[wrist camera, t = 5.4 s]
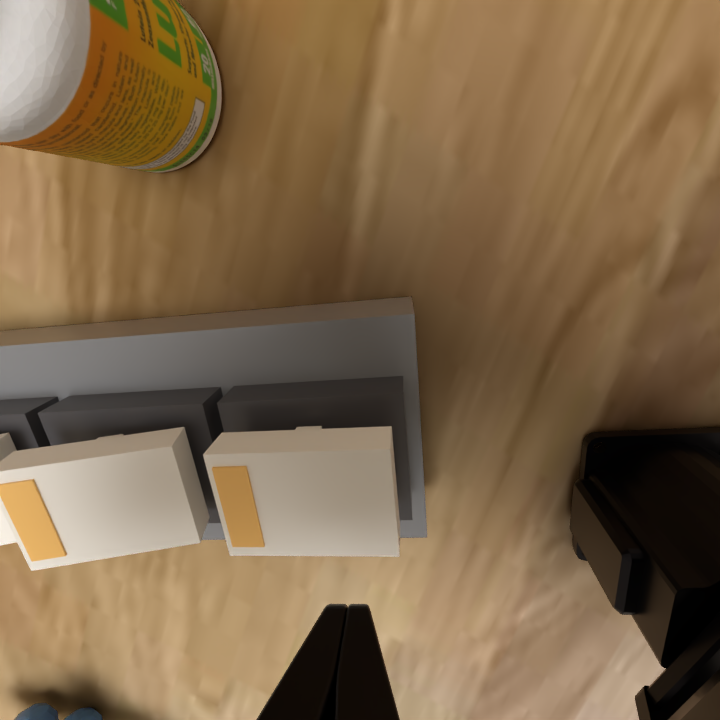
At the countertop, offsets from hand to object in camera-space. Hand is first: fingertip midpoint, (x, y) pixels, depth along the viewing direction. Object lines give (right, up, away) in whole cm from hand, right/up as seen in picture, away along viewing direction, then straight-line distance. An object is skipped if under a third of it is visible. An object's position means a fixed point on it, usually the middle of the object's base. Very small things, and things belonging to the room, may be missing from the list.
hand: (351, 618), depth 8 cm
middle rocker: (-8, +1, +6) cm, 10 cm away
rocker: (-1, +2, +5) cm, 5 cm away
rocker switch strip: (-7, +3, +10) cm, 13 cm away
